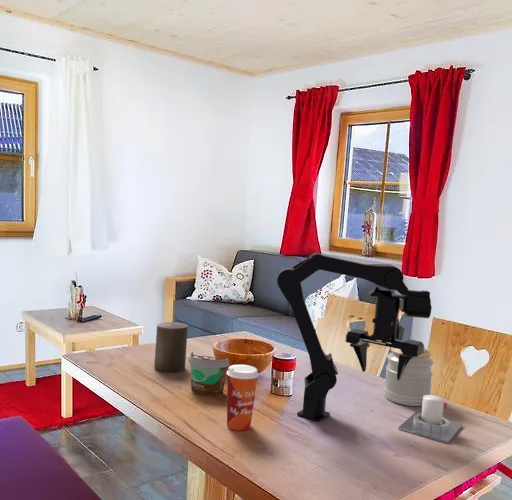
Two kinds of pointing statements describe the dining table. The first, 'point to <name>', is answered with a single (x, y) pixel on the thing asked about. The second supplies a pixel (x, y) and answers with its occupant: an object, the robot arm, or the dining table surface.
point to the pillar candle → (171, 346)
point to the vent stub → (433, 409)
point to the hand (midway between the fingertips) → (381, 375)
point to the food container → (207, 374)
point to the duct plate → (426, 433)
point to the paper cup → (240, 396)
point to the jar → (408, 379)
